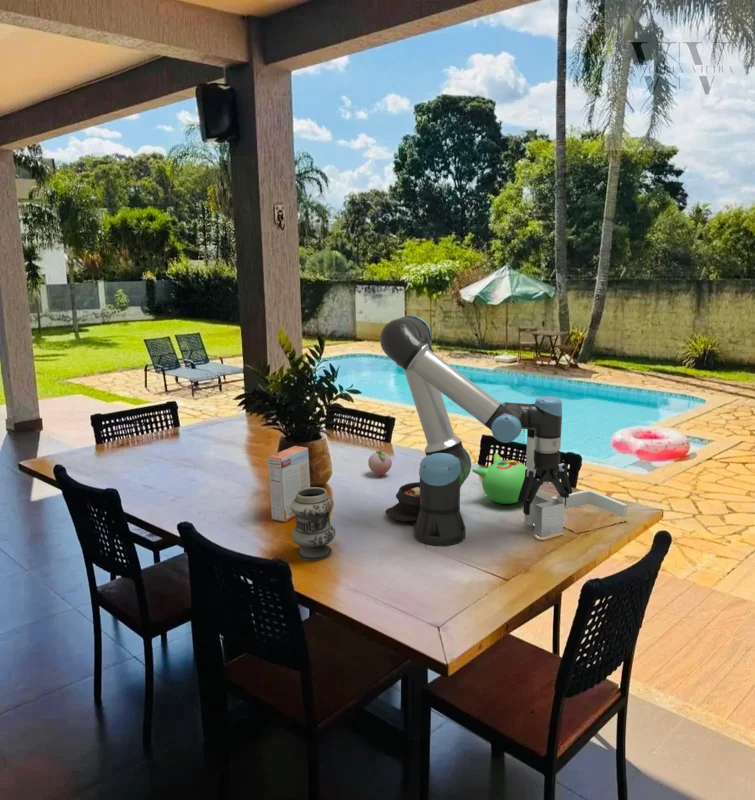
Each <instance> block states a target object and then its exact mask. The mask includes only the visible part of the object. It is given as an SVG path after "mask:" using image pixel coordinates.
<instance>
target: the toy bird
mask: <svg viewBox="0 0 755 800" xmlns="http://www.w3.org/2000/svg"><path fill="white" fill-rule="evenodd" d="M526 469H528V468H527V467H526V464H523V463H522V462H521V461H520V462H519V461H517V460H512V459H510V460H509V459H503V458H502V457H501V456H500V455H499V453H494V454H493V463H492V464H491V465H489V466H488V467H472V468H471V471H472V473H475V474H476V475H478V476H479V477H481V486H482V489H483V491H484V492H483V493H484V494H485V495H486V497H488V498H489V499H490V500H492V501H493V502H495V503H499V504H504V505H505V504H506V505H511V504H515V503H520V502H519V501H518V497H519V494H520V491H521V488H522V484H523V481H524V478H525V470H526Z"/></svg>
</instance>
